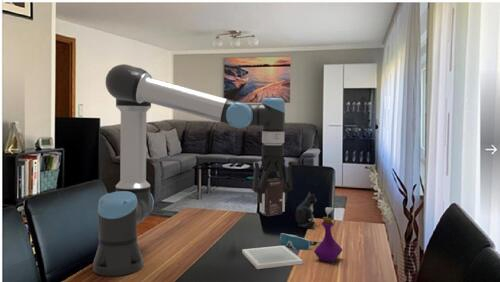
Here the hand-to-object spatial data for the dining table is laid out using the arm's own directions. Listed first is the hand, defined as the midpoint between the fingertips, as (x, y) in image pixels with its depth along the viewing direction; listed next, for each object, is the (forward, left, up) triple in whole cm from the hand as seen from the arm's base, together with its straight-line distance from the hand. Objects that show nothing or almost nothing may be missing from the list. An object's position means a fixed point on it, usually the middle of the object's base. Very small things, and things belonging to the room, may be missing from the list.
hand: (272, 211), depth 142 cm
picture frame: (0, 0, -16) cm, 16 cm away
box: (0, 0, -1) cm, 1 cm away
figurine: (+29, +32, -16) cm, 46 cm away
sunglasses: (+17, +12, -17) cm, 27 cm away
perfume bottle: (+18, -7, -16) cm, 25 cm away
